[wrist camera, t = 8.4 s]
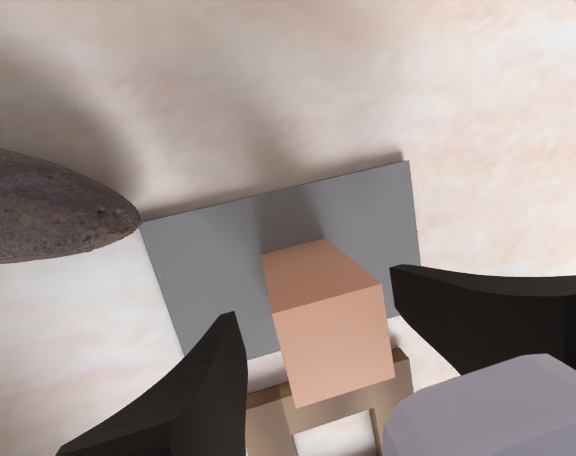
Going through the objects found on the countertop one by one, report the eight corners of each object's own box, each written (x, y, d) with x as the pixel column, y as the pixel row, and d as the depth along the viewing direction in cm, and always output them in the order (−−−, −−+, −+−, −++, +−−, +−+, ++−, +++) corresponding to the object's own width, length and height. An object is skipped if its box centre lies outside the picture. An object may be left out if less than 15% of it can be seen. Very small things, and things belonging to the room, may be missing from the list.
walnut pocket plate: (275, 523, 21) (277, 544, 20) (235, 398, 18) (235, 413, 17) (416, 471, 22) (426, 488, 21) (399, 347, 19) (408, 358, 18)
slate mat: (193, 370, 17) (191, 377, 17) (141, 222, 15) (137, 223, 14) (420, 303, 19) (425, 307, 18) (403, 160, 17) (409, 160, 16)
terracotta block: (275, 313, 17) (295, 408, 10) (260, 254, 16) (272, 314, 9) (336, 297, 17) (395, 377, 10) (325, 238, 16) (381, 283, 9)
